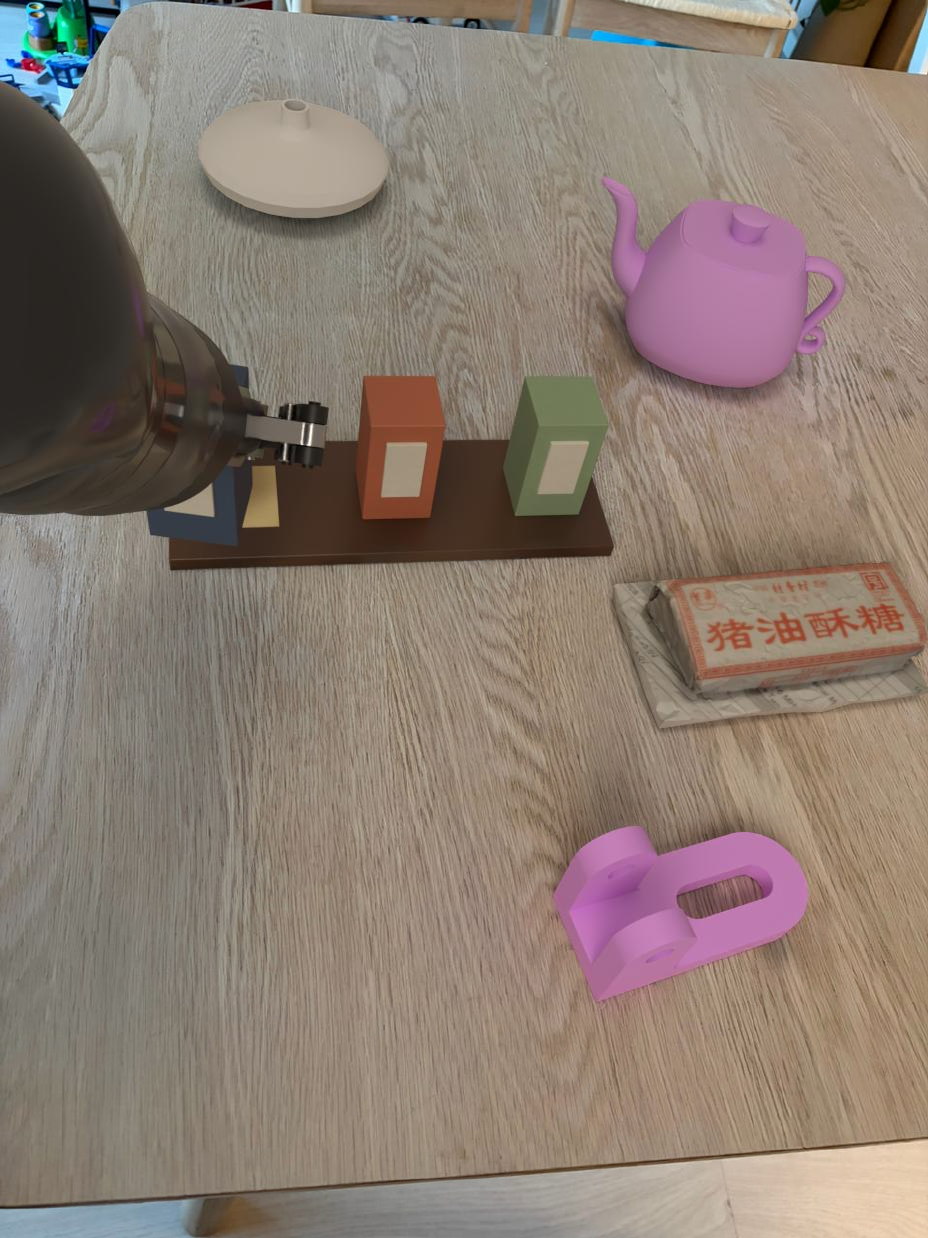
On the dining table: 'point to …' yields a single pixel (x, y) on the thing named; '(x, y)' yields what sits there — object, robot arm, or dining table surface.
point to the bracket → (670, 905)
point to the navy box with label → (211, 502)
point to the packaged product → (772, 641)
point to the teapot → (719, 291)
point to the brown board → (336, 533)
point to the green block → (554, 445)
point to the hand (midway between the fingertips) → (205, 425)
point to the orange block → (399, 446)
